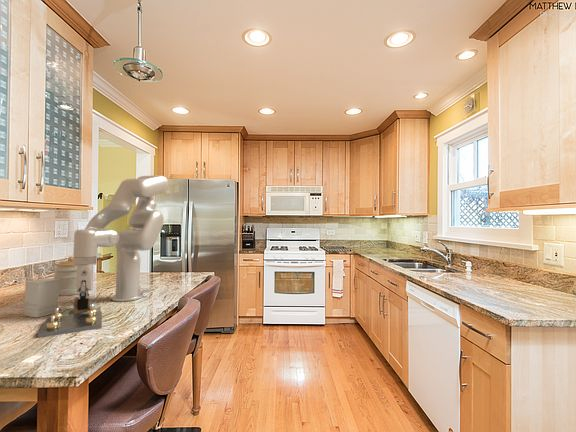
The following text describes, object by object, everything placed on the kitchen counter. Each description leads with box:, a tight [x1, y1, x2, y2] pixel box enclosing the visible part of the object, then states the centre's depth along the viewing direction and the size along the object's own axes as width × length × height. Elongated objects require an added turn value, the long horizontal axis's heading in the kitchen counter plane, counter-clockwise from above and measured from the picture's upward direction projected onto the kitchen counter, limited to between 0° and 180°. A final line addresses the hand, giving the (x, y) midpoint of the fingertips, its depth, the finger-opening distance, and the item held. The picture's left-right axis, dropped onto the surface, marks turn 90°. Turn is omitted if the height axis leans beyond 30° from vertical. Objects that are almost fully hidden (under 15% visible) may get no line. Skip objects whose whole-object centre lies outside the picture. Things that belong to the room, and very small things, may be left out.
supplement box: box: [23, 277, 60, 318], centre depth 108 cm, size 7×7×13 cm
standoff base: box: [37, 303, 103, 338], centre depth 97 cm, size 16×16×5 cm
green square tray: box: [62, 295, 102, 316], centre depth 111 cm, size 12×12×6 cm
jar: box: [53, 255, 79, 296], centre depth 141 cm, size 13×13×18 cm
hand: (83, 306), depth 112 cm, fingers open, 7 cm apart
